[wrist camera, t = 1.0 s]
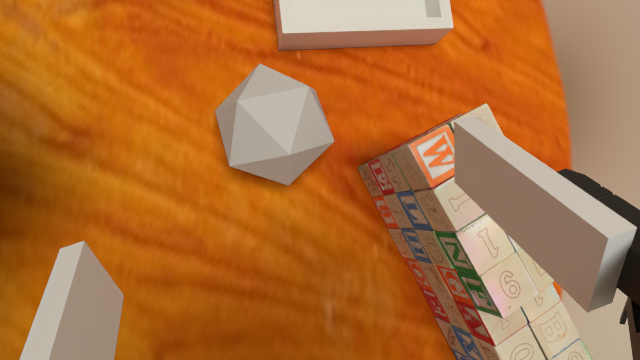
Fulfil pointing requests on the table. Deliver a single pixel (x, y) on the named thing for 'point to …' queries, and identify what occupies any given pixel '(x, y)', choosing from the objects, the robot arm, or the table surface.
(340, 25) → the tray
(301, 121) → the die
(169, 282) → the table surface
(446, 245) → the stack of blocks
